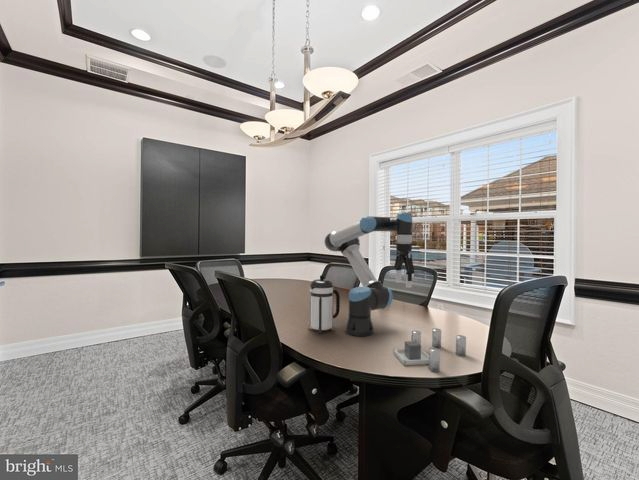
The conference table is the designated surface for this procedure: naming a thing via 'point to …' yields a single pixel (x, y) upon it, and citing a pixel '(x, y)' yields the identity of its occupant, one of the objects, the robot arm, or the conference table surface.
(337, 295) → the coffee press
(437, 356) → the cylinder
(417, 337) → the spacer
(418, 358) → the slate cube
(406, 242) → the robot arm
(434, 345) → the cylinder
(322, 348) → the conference table surface
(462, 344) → the cylinder
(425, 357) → the tray
